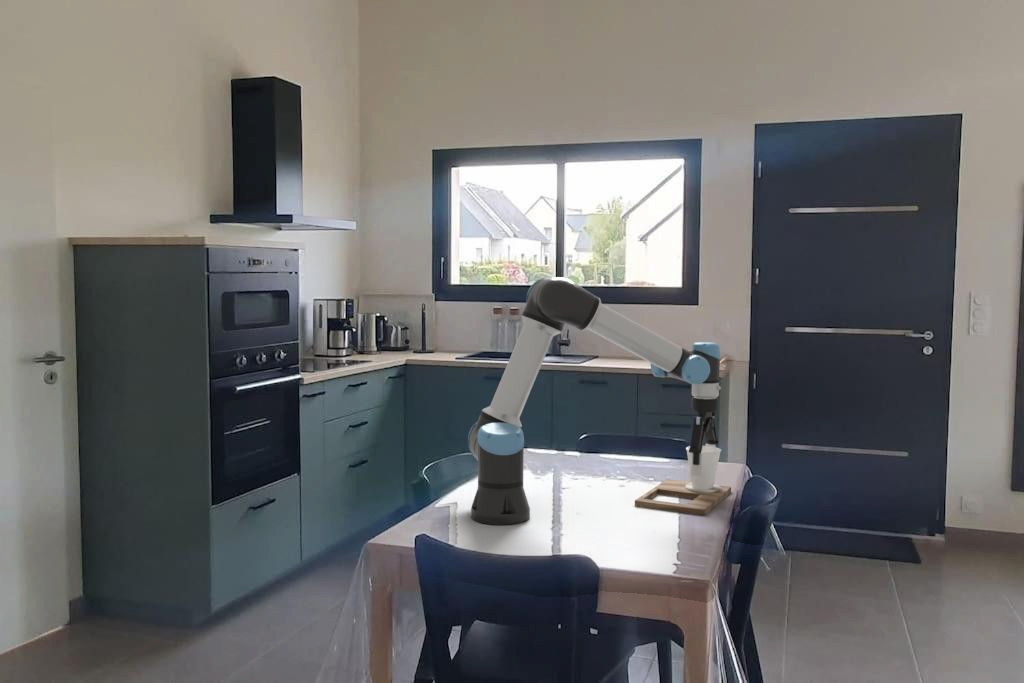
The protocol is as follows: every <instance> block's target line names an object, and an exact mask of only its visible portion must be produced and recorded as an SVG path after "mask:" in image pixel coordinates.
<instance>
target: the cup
mask: <svg viewBox="0 0 1024 683" xmlns="http://www.w3.org/2000/svg"><path fill="white" fill-rule="evenodd" d="M689 449H690V445H688V446H687V447H686V448H685V450H686V454H687V456H686V457H687V462H688V468H689V475H690V482H691V483H692V486H693V487H694V488H698V489H711V488H713V487H714V484H715V482H716V475H717V471H718V465H719V461H720V457H721V456H720V455H721V452H722V449H721V448H720V447H717V446H715V447H713V446H706V445H703V446H702V451H701V453H702V476H701V477H700V476H692V453H690V452H689Z"/></svg>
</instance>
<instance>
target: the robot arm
mask: <svg viewBox="0 0 1024 683" xmlns="http://www.w3.org/2000/svg"><path fill="white" fill-rule="evenodd" d="M525 304H526V305H525V306H524V309H523V311H522V314H521V319H522V322H523V326H522V329H521V330H520V333H519V336H518V338H517V341H516V342H515V346H514V348H513V351H512V352H511V355H510V358H509V359H508V362H507V364H506V367H505V369H504V372H503V374H502V376H501V379H500V381H499V383H498V386H497V388H496V391H495V393H494V396H493V398H492V400H491V403H490V405H489V406H486V407H485V408H483V409H481V412H480V415H479V417H478V420H477V421H476V422H475V423H474V424H473V425H472V426H471V428H470V429H469V432H468V436H467V445H468V449H469V452H470V453H471V456H472V457H473V458H474V459H475V460H476V461H477V489H476V492H475V496H474V498H473V502H472V505H471V508H470V518H471V519H472V520H473V521H475V522H477V523H481V524H488V525H496V526H497V525H498V526H499V525H500V526H501V525H502V526H503V525H515V524H521V523H523V522H526V521H527V520H529V519H530V517H531V508H530V505H529V501H528V498H527V494H526V492H525V489H524V455H525V454H524V450H525V449H524V448H525V447H524V446H525V438H524V432H523V430H522V427H523V425H522V422H521V420H520V417H521V415H522V413H523V410H524V407H525V405H526V403H527V400H528V398H529V396H530V393H531V390H532V389H533V386H534V383H535V381H536V378H537V376H538V374H539V371H540V370H541V367H542V365H543V362H544V359H545V357H546V355H547V353H548V351H549V348H550V345H551V342H552V341H553V338H554V337H555V336H557V335H559V334H561V333H562V331H563V330H564V326H565V324H567V325H568V326H571V327H574V328H576V329H578V330H580V331H581V332H582V331H587V330H588V331H590V332H592V333H594V334H595V335H597V336H599V337H602V338H603V339H605V340H606V341H608V342H610V343H612V344H613V345H616V346H618V347H620V348H621V349H624V350H626V351H628V352H629V353H631V354H633V355H635V356H637V357H639V358H641V359H642V360H644V361H646V362H648V363H650V370H651V373H652V375H653V376H654V377H656V378H663V379H664V378H673V379H676V380H680V381H683V382H686V383H688V384H690V385H691V396H692V398H691V410H692V411H693V412H696V413H697V416H694V417H693V427H692V432H691V433H692V434H691V438H690V445H689V446H690V449H689V452H690V453H692V476H700V477H701V476H702V453H701V451H702V446H704V441H705V440H706V443H705V446H713V447H716V445H719V443H720V442H719V438H718V430H717V421H716V420H717V419H716V413H717V412H718V411H719V405H720V403H719V402H720V399H719V398H718V397H719V396H720V393H719V392H720V390H721V389H722V387H721V385H720V366H721V364H720V363H721V362H720V361H721V351H720V350H721V349H720V344H718V343H717V342H710V341H709V342H708V341H707V342H706V341H703V342H702V341H701V342H699V341H697V342H694V343H693V345H692V348H691V349H685V348H683V347H681V346H680V345H678V344H676V343H674V342H673V341H671V340H669V339H667V338H665V337H663V336H662V335H660V334H658V333H656V332H654V331H652V330H651V329H648V328H647V327H645V326H643V325H641V324H639V323H637V322H636V321H634V320H632V319H630V318H629V317H627V316H625V315H623V314H621V313H619V312H617V311H616V310H614V309H612V308H610V307H608V306H607V305H605V304H603V302H602V301H601V298H600V297H598V296H597V295H594V294H593V293H592V292H590V291H588V290H586V289H585V288H583V287H582V286H580V285H579V284H578V283H576V282H575V281H573V280H571V279H569V278H566V277H564V276H563V277H560V276H557V277H556V276H544V277H542V278H539V279H538V280H536V281H534V282H533V283H532V284H531V286H530V287H529V289H528V290H527V294H526V301H525Z"/></svg>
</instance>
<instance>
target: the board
mask: <svg viewBox="0 0 1024 683" xmlns="http://www.w3.org/2000/svg"><path fill="white" fill-rule="evenodd" d="M731 492H732V486H729V485H728V486H727V485H721V484H720V485H719V484H715V483H714V487H713V488H711V489H698V488H694V487H693V486H692V483H691V481H688V480H687V481H686V480H676V479H670V478H668V479H666V480H663V482H661V483H659V484H658V485H657V486H654V488H652V489H650V490H648V491H647V492H645V493H644V494H643V495H641V496H639V497H637V498H636V499H635V500H634V507H641V508H647V509H653V510H654V509H655V510H662V511H668V512H677V513H683V514H684V513H685V514H691V515H697V516H698V515H699V516H705V515H706V514H707V513H708V512H710V511H711V510H712V509H713V508H714V507H716V506H717V505H718V504H719V503H720V502H722V500H724V499H725V498H726V497H727V496H728V495H730V494H731ZM657 495H661V496H669V497H670V496H671V497H677V498H686V499H692V501H690V502H689V503H688V504H686V503H677V502H670V501H665V500H664V501H663V500H656V499H653V498H654V497H655V496H657ZM725 496H726V497H725ZM724 497H725V498H724ZM723 498H724V499H723Z"/></svg>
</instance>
